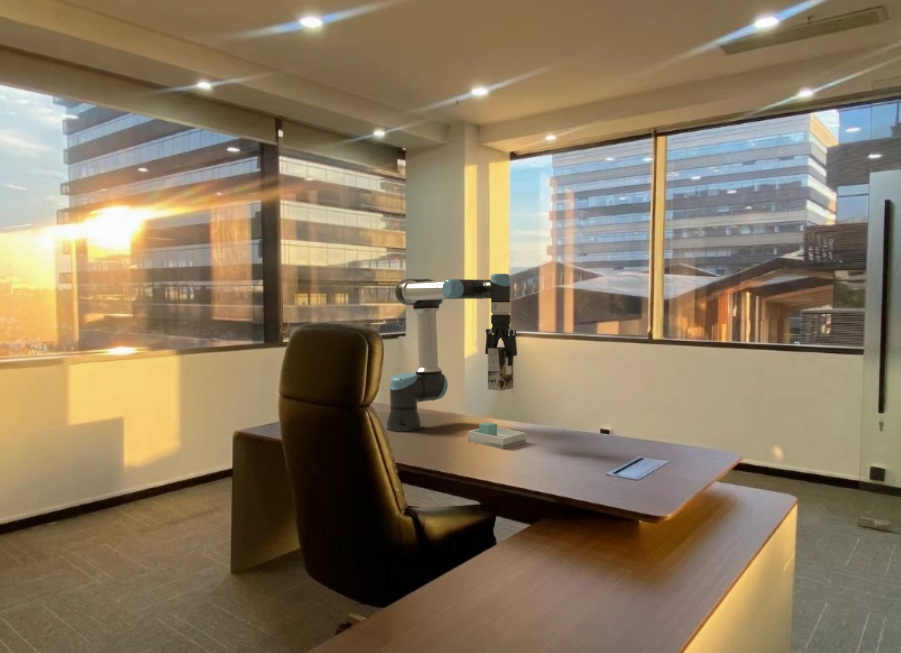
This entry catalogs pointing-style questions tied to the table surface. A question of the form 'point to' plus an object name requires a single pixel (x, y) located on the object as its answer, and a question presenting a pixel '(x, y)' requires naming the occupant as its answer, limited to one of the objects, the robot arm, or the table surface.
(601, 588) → the table surface
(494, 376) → the coffee box
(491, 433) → the teal cube
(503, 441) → the tote
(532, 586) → the table surface
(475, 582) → the table surface
